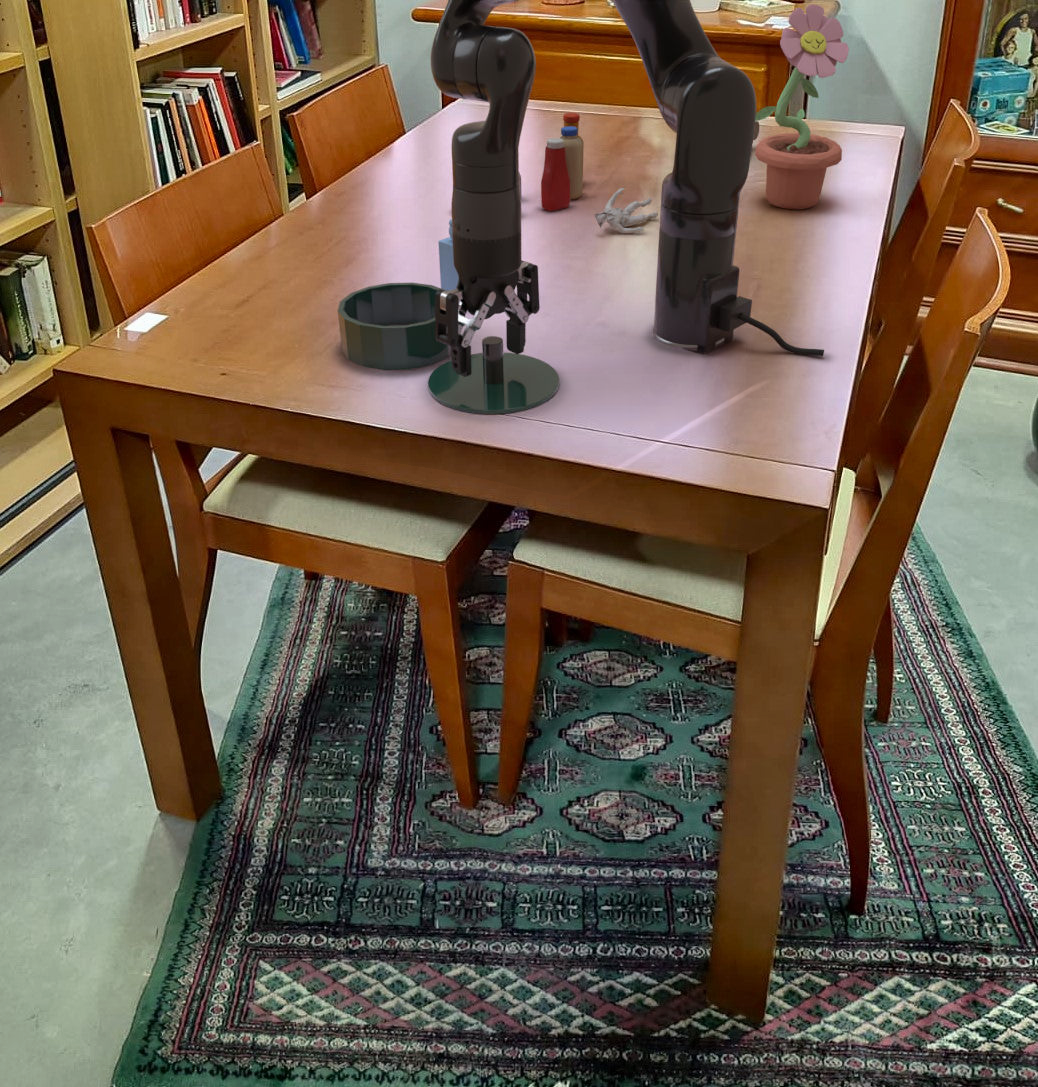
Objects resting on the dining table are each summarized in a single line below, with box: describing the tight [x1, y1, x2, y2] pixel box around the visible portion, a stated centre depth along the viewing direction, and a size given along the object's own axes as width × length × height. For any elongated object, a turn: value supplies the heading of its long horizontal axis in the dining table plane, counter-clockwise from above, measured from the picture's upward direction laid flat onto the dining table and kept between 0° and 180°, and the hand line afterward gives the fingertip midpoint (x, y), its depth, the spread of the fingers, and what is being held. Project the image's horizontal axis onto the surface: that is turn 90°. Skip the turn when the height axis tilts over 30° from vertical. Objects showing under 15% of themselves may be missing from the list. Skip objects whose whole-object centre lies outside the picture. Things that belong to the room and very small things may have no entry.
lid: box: [427, 335, 560, 415], centre depth 131 cm, size 15×15×6 cm
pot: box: [337, 282, 451, 371], centre depth 141 cm, size 14×14×6 cm
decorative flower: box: [754, 3, 850, 210], centre depth 180 cm, size 15×14×30 cm
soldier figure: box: [593, 187, 659, 234], centre depth 178 cm, size 8×5×12 cm
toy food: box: [519, 112, 585, 212], centre depth 187 cm, size 27×13×12 cm, turn 124°
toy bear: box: [438, 218, 459, 291], centre depth 151 cm, size 4×4×12 cm
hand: (489, 362), depth 131 cm, fingers open, 8 cm apart
